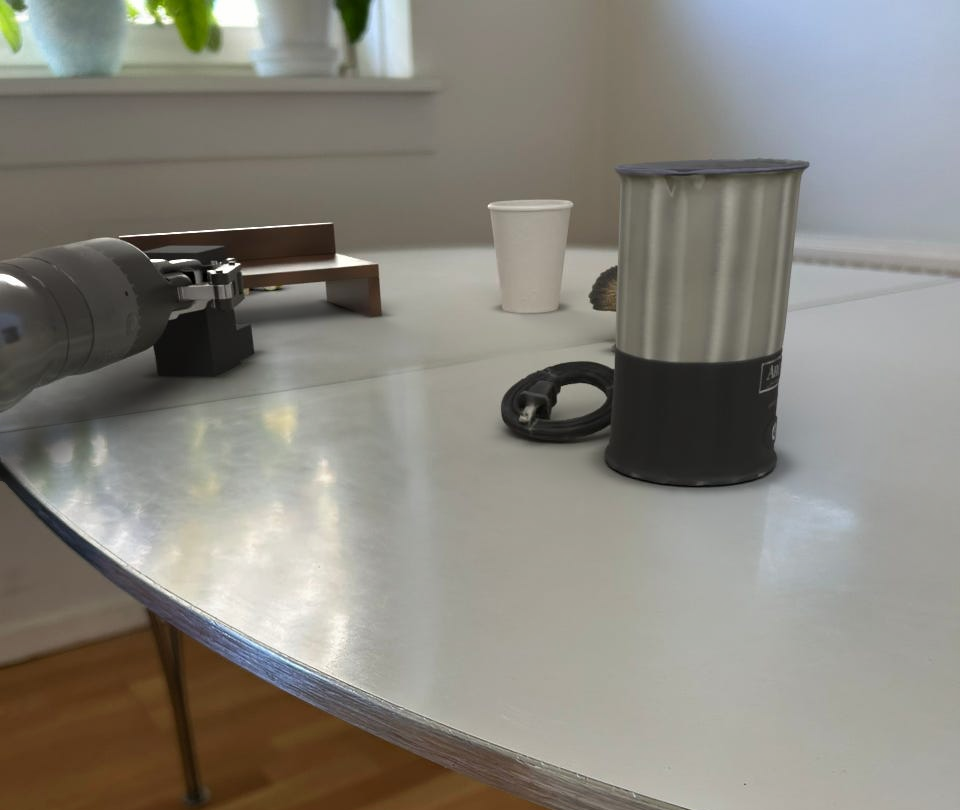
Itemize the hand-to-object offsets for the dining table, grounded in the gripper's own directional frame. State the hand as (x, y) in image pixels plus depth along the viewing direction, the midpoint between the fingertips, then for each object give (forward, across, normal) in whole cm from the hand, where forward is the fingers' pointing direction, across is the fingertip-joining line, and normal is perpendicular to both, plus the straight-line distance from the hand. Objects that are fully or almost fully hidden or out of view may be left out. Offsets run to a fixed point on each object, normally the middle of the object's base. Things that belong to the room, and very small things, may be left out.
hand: (202, 272), depth 78 cm
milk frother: (-20, -35, +7) cm, 41 cm away
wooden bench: (+21, +6, +7) cm, 23 cm away
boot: (-1, 0, +7) cm, 7 cm away
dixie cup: (+29, -21, +7) cm, 36 cm away
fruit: (+39, +15, +7) cm, 43 cm away
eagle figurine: (+11, -34, +7) cm, 36 cm away
